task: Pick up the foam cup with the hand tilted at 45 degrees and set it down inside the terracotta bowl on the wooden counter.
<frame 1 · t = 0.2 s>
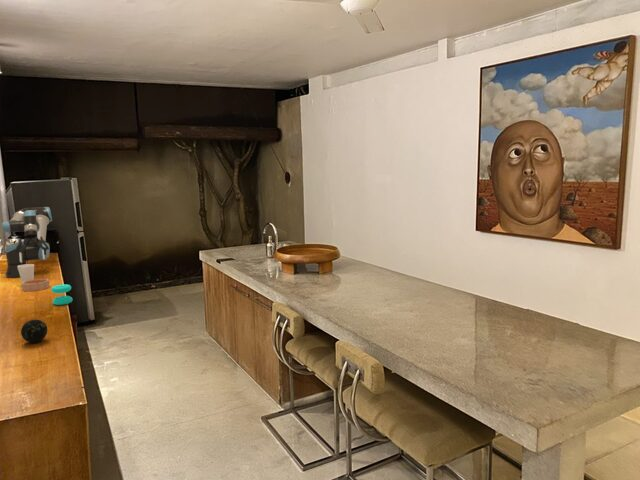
hand: (32, 260, 330), 15 cm above the cabinet, tool tilted 30°, fingers open, 13 cm apart
bowl: (36, 288, 314), on the cabinet
decorative stone: (35, 342, 217), on the cabinet
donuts: (63, 303, 278), on the cabinet
foam cup: (28, 285, 325), on the cabinet
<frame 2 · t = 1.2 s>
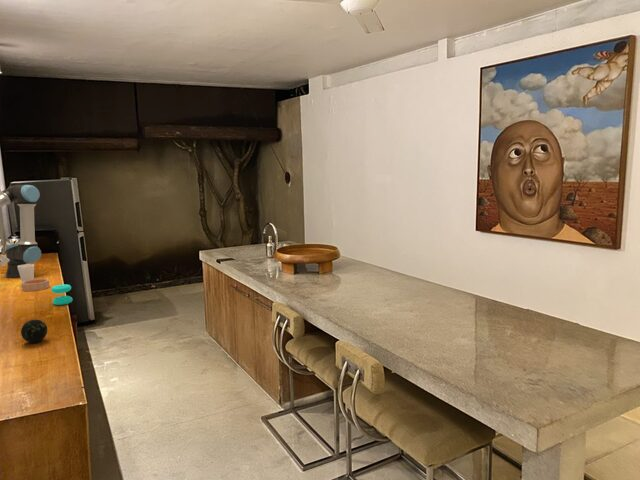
hand: (7, 263, 318), 15 cm above the cabinet, tool tilted 45°, fingers open, 13 cm apart
nothing on the cabinet moved.
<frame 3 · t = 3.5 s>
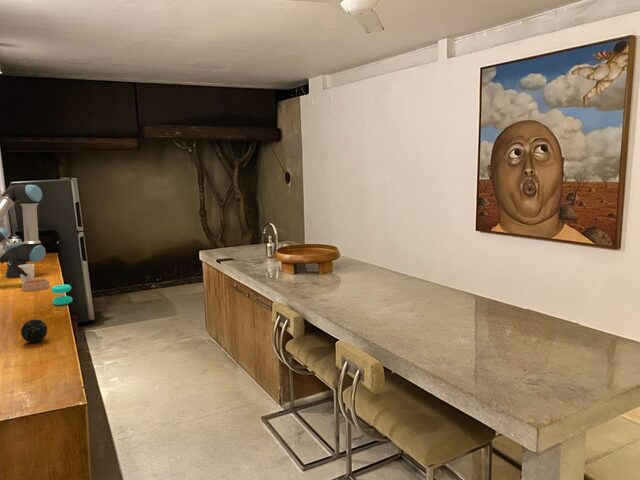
hand: (32, 277, 325), 5 cm above the cabinet, tool tilted 45°, fingers closed on foam cup, 9 cm apart
foam cup: (28, 285, 325), on the cabinet, touching gripper
everything else where it was.
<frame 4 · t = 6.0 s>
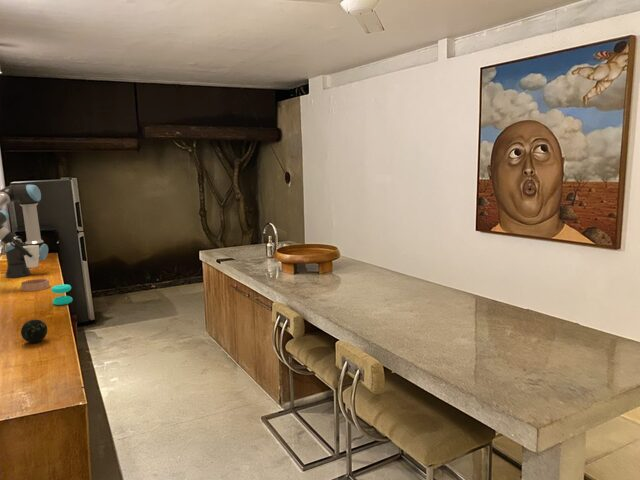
hand: (37, 258, 312), 19 cm above the cabinet, tool tilted 45°, fingers closed on foam cup, 9 cm apart
foam cup: (32, 266, 312), point 14 cm above the cabinet, touching gripper
everything else where it was.
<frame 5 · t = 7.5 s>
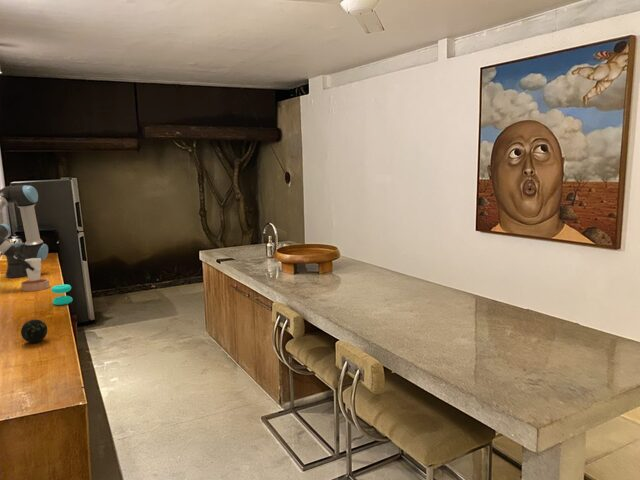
hand: (39, 271, 313), 11 cm above the cabinet, tool tilted 45°, fingers closed on foam cup, 9 cm apart
foam cup: (34, 279, 313), point 6 cm above the cabinet, touching gripper
everything else where it was.
when the fingers open (7 cm above the cabinet, at t = 8.7 s): foam cup drops 1 cm, resting on bowl.
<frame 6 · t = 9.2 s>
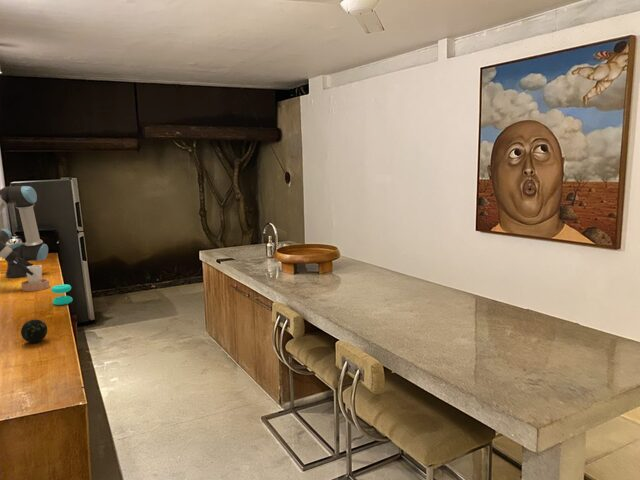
hand: (38, 275, 314), 8 cm above the cabinet, tool tilted 45°, fingers open, 13 cm apart
foam cup: (35, 287, 314), point 1 cm above the cabinet, touching bowl
everything else where it was.
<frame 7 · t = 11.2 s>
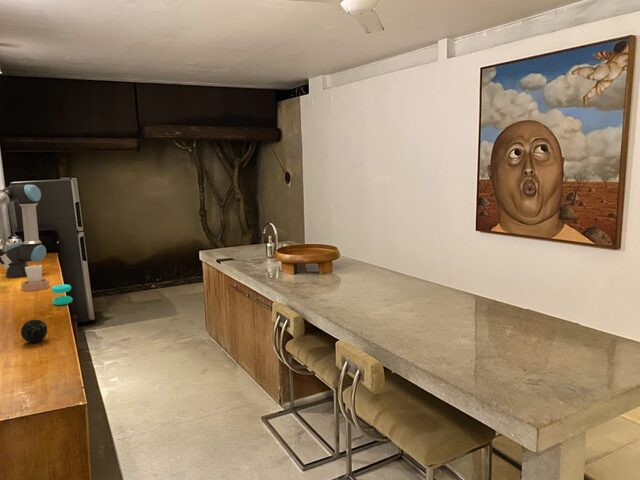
hand: (8, 265, 312), 15 cm above the cabinet, tool tilted 30°, fingers open, 13 cm apart
nothing on the cabinet moved.
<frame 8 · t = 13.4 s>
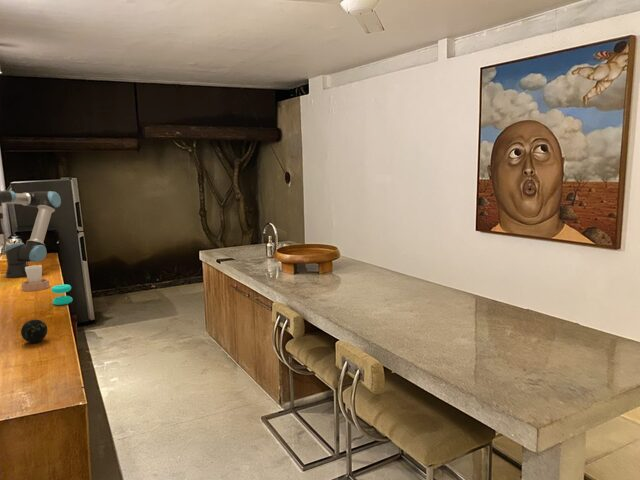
nothing on the cabinet moved.
at the end: foam cup 0.3 cm from the bowl (horizontally); foam cup point 0.8 cm above the cabinet; foam cup tilted 0° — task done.
